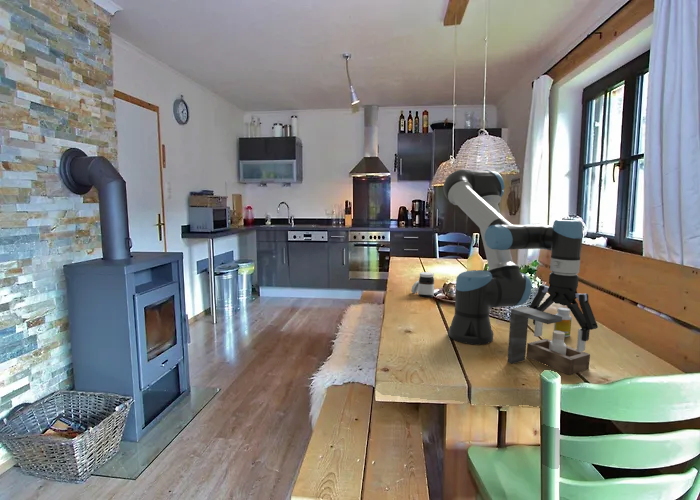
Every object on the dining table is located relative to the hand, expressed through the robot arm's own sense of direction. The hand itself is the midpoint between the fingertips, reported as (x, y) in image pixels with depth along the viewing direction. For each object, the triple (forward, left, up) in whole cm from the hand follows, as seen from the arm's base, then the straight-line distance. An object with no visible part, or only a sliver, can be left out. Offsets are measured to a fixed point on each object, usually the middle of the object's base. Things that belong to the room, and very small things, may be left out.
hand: (558, 343), depth 117 cm
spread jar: (-84, +16, -7) cm, 86 cm away
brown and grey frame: (0, -4, -6) cm, 8 cm away
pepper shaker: (0, 0, -6) cm, 6 cm away
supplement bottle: (-15, +25, -6) cm, 30 cm away
